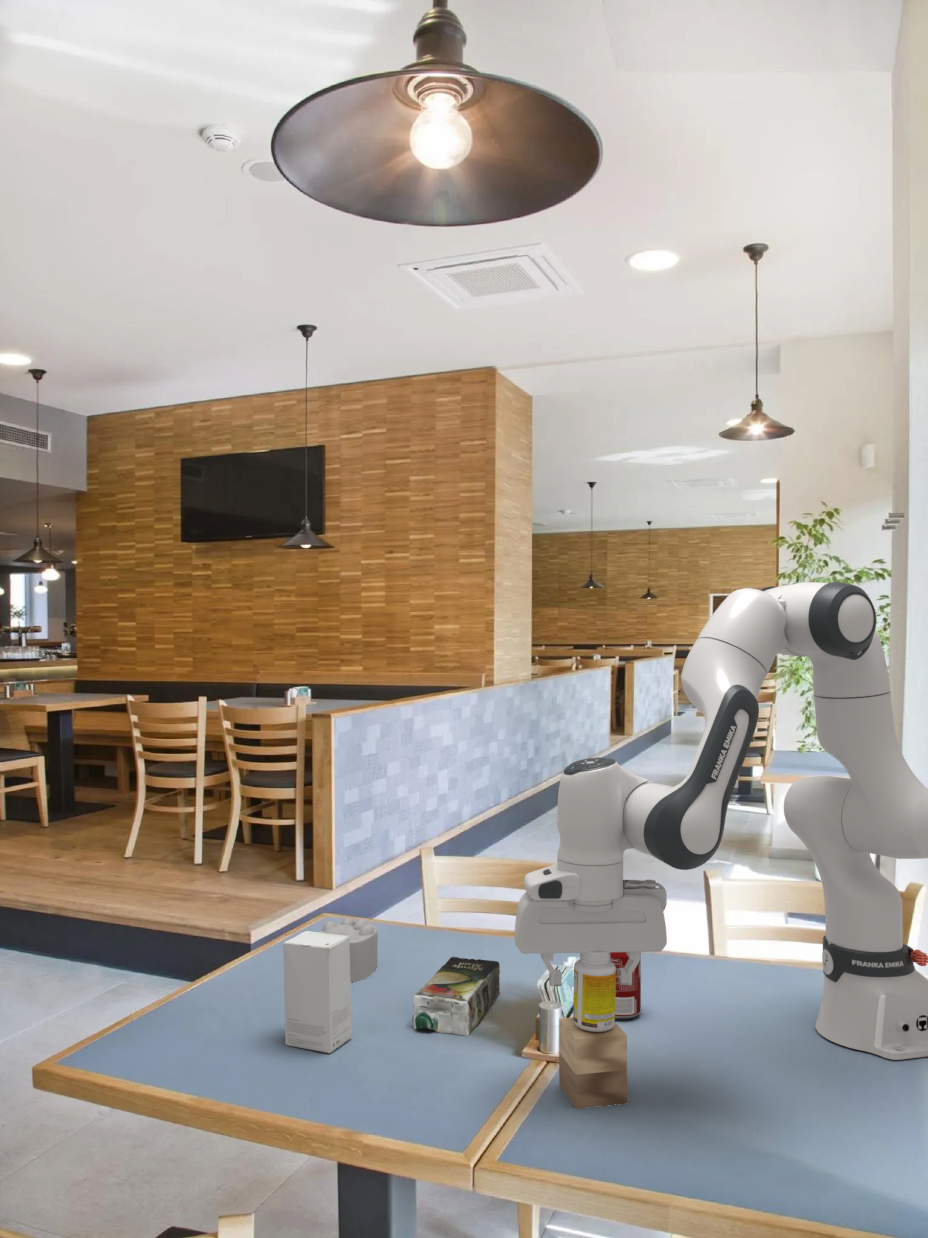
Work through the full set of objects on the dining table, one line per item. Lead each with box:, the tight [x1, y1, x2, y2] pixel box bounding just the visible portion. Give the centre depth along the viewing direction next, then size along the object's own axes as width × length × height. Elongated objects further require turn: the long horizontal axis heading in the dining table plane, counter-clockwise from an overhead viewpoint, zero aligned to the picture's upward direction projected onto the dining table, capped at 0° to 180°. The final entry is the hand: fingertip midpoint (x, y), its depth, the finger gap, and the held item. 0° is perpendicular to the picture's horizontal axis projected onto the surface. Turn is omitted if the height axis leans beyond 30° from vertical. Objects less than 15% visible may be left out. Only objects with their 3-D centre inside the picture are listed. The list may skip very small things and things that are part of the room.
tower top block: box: [558, 1016, 628, 1075], centre depth 125 cm, size 7×7×4 cm
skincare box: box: [282, 930, 353, 1054], centre depth 141 cm, size 8×7×16 cm
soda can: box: [610, 952, 642, 1021], centre depth 153 cm, size 7×7×12 cm
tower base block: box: [558, 1052, 628, 1110], centre depth 125 cm, size 7×7×4 cm
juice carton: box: [412, 956, 501, 1037], centre depth 154 cm, size 20×10×6 cm, turn 163°
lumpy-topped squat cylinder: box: [318, 917, 379, 983], centre depth 174 cm, size 10×13×9 cm
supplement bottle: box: [572, 952, 616, 1032], centre depth 126 cm, size 6×6×10 cm
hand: (590, 984), depth 126 cm, fingers open, 8 cm apart
